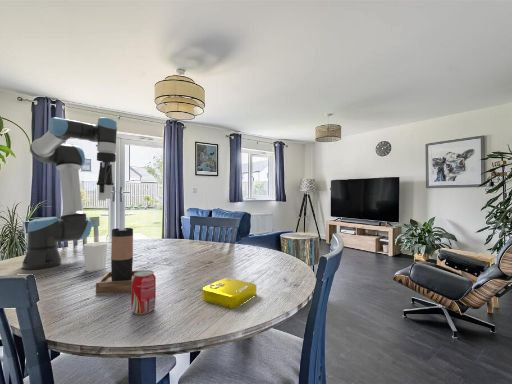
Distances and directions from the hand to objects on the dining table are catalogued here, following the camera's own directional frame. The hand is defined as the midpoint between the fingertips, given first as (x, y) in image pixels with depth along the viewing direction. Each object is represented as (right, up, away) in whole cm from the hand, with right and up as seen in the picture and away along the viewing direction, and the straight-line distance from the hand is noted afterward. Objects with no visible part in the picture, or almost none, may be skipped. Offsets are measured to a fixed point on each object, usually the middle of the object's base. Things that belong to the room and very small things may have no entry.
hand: (105, 199), depth 123 cm
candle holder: (-8, -34, +7) cm, 35 cm away
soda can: (+33, -34, -38) cm, 61 cm away
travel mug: (+16, -31, -16) cm, 39 cm away
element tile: (+59, -35, -25) cm, 73 cm away
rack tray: (+16, -34, -16) cm, 41 cm away
